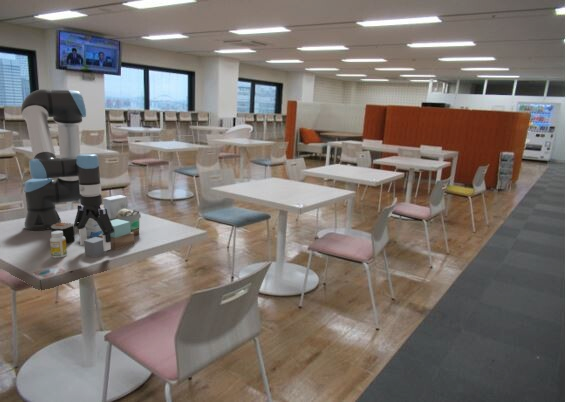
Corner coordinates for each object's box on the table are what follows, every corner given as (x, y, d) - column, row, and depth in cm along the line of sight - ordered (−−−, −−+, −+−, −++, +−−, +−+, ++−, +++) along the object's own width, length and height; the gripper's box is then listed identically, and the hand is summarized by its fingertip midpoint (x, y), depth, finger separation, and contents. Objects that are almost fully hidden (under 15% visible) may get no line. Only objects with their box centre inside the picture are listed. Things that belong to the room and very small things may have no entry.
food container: (132, 239, 180) (131, 217, 178) (119, 238, 181) (118, 216, 179) (147, 231, 192) (145, 210, 189) (135, 230, 193) (133, 209, 191)
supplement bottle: (55, 259, 156) (52, 235, 154) (49, 255, 159) (46, 232, 157) (69, 255, 160) (67, 232, 158) (63, 252, 163) (61, 229, 161)
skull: (145, 220, 205) (134, 208, 198) (134, 237, 201) (121, 226, 193) (129, 216, 211) (117, 204, 203) (117, 232, 206) (105, 221, 199)
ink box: (105, 235, 184) (103, 210, 182) (96, 238, 180) (94, 212, 177) (92, 232, 188) (89, 207, 185) (82, 235, 184) (80, 210, 181)
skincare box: (111, 219, 209) (109, 199, 206) (103, 217, 212) (102, 197, 210) (128, 215, 217) (127, 196, 215) (121, 213, 221) (119, 194, 218)
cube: (85, 254, 161) (83, 240, 160) (97, 250, 166) (95, 236, 164) (94, 257, 159) (93, 243, 157) (106, 253, 163) (105, 239, 162)
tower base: (99, 246, 171) (98, 235, 170) (118, 239, 180) (117, 229, 179) (115, 250, 167) (114, 239, 166) (134, 243, 175) (134, 232, 174)
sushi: (63, 245, 170) (61, 227, 168) (48, 242, 173) (46, 224, 171) (78, 239, 178) (77, 222, 176) (64, 237, 180) (62, 220, 179)
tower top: (102, 234, 171) (101, 223, 170) (117, 229, 178) (116, 218, 176) (115, 238, 167) (114, 226, 166) (130, 233, 174) (130, 221, 173)
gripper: (60, 192, 159) (66, 244, 164) (104, 200, 148) (109, 255, 152) (78, 189, 165) (82, 239, 170) (121, 196, 154) (125, 249, 159)
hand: (95, 247), depth 161 cm, fingers open, 13 cm apart
